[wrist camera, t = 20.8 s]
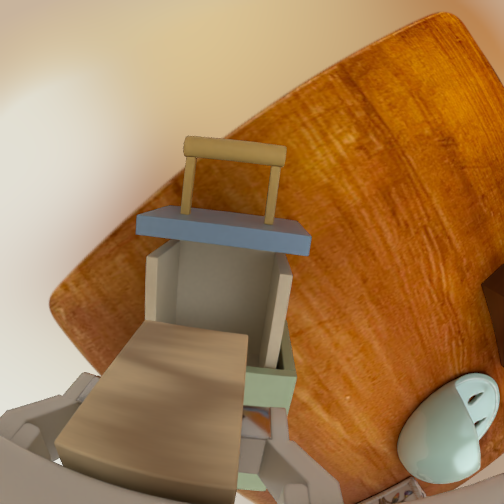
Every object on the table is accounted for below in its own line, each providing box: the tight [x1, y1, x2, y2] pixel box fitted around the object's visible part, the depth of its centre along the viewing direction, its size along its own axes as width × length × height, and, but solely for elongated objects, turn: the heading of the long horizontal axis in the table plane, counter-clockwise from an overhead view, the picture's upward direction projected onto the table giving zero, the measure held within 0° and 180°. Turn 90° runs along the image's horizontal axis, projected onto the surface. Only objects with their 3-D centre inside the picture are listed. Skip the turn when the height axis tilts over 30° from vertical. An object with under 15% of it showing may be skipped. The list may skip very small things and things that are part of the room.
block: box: [54, 320, 248, 504], centre depth 9 cm, size 4×4×7 cm
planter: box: [397, 373, 500, 484], centre depth 28 cm, size 19×7×16 cm
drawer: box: [136, 136, 312, 369], centre depth 23 cm, size 18×10×7 cm, turn 173°
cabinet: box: [237, 320, 297, 491], centre depth 25 cm, size 14×12×9 cm
